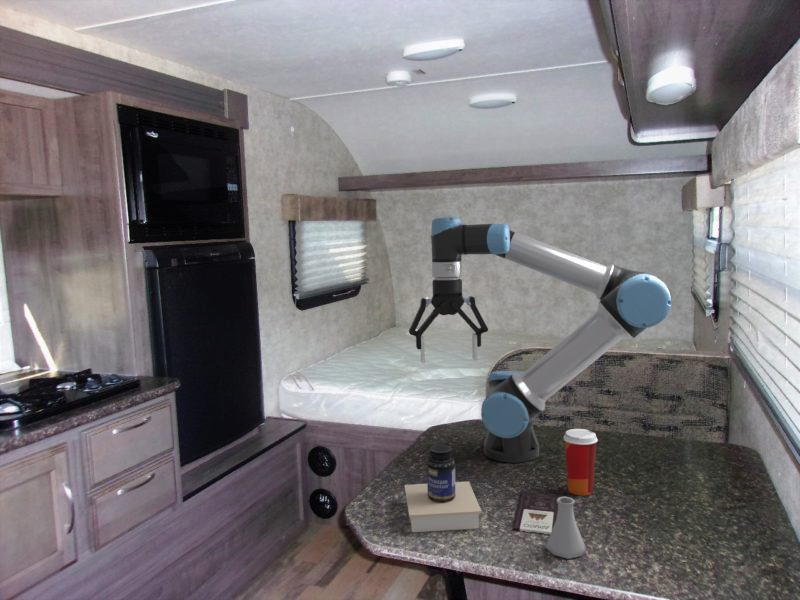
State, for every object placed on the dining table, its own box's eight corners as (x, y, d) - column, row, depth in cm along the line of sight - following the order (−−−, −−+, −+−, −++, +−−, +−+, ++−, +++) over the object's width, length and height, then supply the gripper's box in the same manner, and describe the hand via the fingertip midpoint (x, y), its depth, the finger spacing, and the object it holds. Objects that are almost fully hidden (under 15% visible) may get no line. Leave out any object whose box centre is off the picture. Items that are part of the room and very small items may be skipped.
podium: (469, 497, 138) (468, 481, 138) (481, 529, 123) (481, 511, 123) (405, 501, 137) (404, 484, 137) (409, 533, 122) (409, 515, 122)
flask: (562, 536, 120) (561, 488, 119) (593, 550, 114) (593, 500, 113) (538, 548, 115) (538, 499, 114) (569, 564, 110) (569, 512, 109)
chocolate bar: (561, 495, 137) (558, 533, 120) (561, 499, 137) (558, 537, 120) (521, 491, 140) (513, 527, 122) (521, 495, 140) (513, 532, 123)
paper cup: (584, 481, 145) (584, 426, 143) (604, 494, 138) (604, 436, 136) (556, 487, 143) (556, 430, 141) (575, 500, 135) (575, 440, 134)
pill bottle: (424, 501, 128) (423, 452, 127) (431, 490, 134) (429, 442, 133) (453, 504, 126) (452, 454, 125) (458, 492, 132) (457, 444, 131)
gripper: (399, 281, 147) (401, 365, 149) (498, 277, 148) (499, 361, 150) (397, 279, 154) (399, 359, 156) (492, 275, 155) (493, 355, 158)
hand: (448, 360), depth 153 cm, fingers open, 13 cm apart
